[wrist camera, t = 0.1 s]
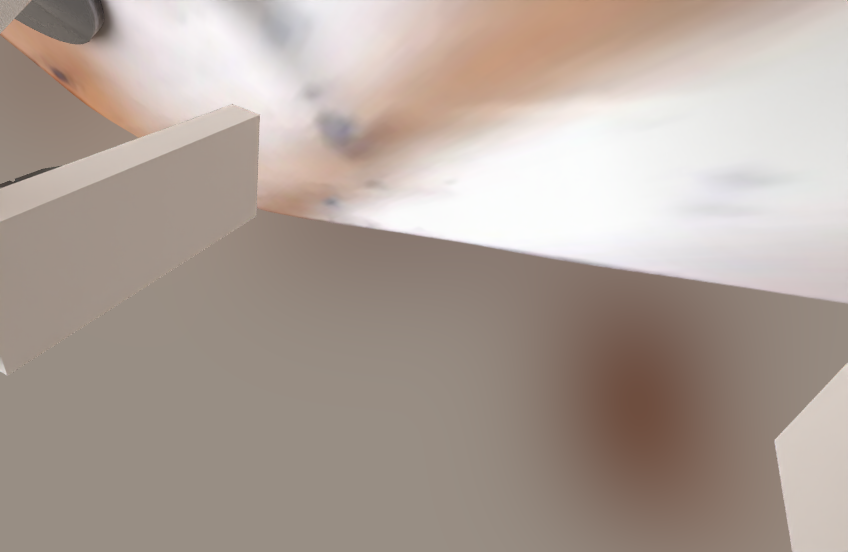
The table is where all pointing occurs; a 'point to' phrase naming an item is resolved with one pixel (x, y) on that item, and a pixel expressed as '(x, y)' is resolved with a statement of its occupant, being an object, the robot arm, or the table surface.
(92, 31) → the carrier plate
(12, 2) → the sun gear
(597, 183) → the table surface
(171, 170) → the robot arm
